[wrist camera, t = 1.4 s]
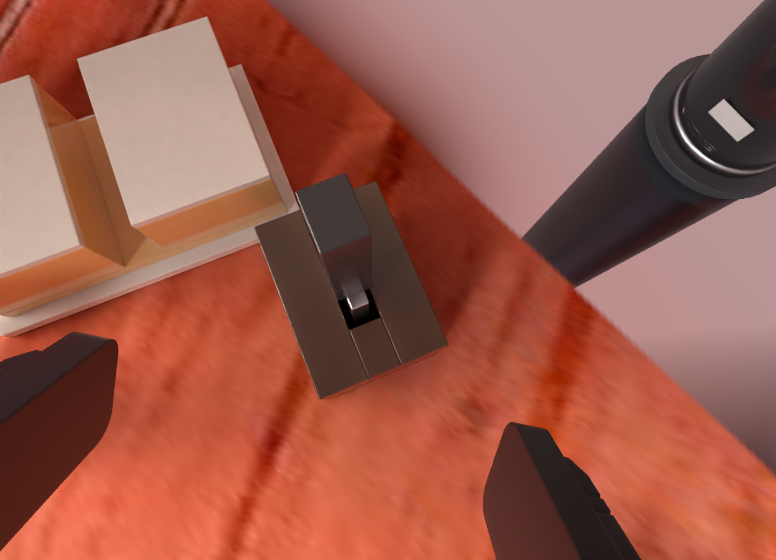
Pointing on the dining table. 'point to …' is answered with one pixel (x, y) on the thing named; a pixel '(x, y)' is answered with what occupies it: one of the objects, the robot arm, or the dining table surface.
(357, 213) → the knife
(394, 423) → the dining table surface
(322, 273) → the knife block
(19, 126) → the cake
